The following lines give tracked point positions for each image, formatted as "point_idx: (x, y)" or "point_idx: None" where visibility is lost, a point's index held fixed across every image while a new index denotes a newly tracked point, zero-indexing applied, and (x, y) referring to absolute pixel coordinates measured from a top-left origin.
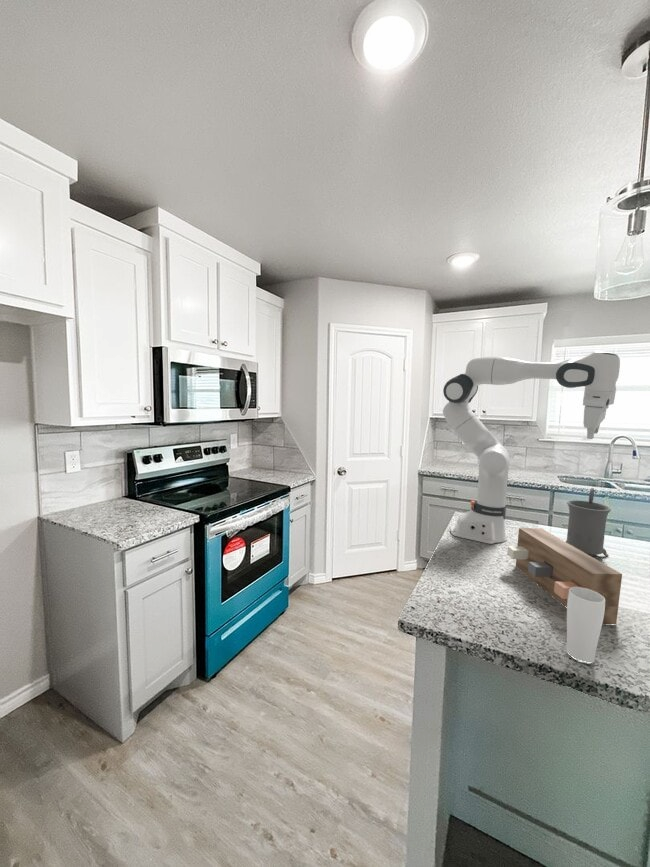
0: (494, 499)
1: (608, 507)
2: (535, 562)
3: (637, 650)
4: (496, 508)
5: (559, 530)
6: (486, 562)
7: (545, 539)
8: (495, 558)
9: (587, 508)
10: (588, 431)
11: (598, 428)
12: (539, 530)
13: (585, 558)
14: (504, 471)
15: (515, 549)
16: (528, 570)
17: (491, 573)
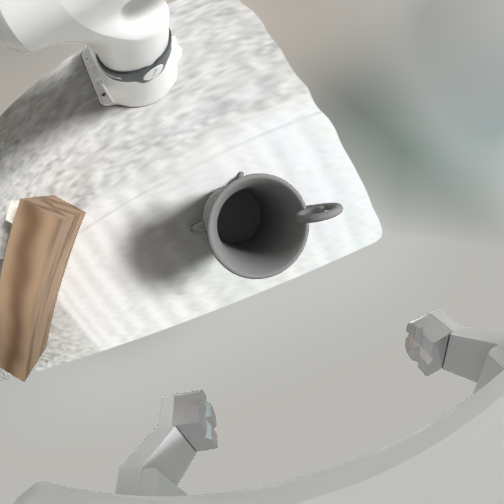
0: (99, 56)
1: (287, 264)
2: (1, 268)
3: (32, 369)
4: (107, 70)
5: (323, 128)
6: (28, 164)
7: (15, 266)
8: (52, 157)
9: (288, 208)
10: (138, 457)
11: (444, 368)
12: (43, 227)
13: (15, 340)
14: (51, 46)
15: (10, 217)
16: (1, 259)
17: (7, 198)
